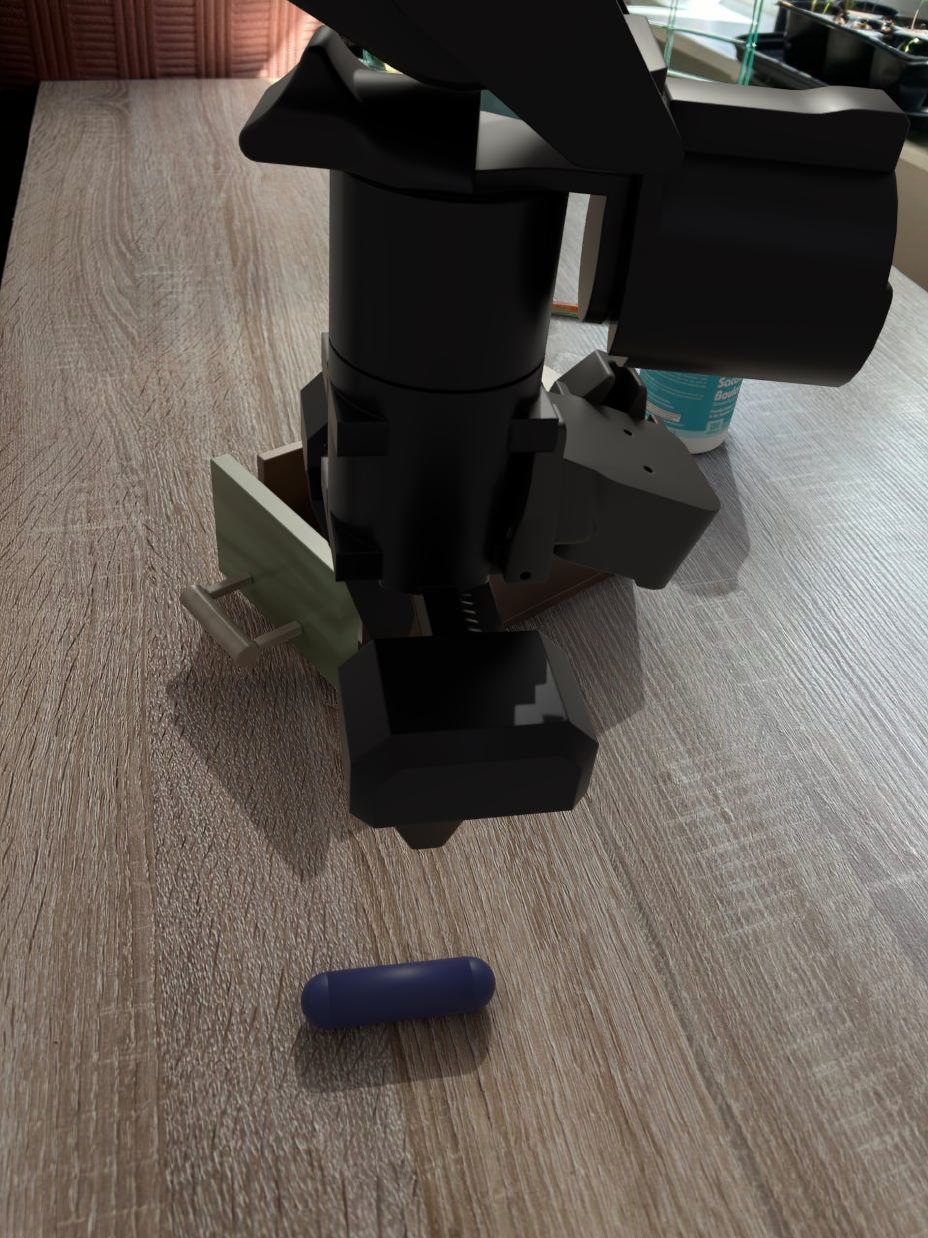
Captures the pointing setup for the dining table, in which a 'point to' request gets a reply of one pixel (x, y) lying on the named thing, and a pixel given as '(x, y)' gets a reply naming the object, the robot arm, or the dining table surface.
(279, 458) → the drawer
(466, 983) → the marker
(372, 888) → the dining table surface
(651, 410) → the pill bottle
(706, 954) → the dining table surface
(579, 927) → the dining table surface
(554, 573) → the cabinet
